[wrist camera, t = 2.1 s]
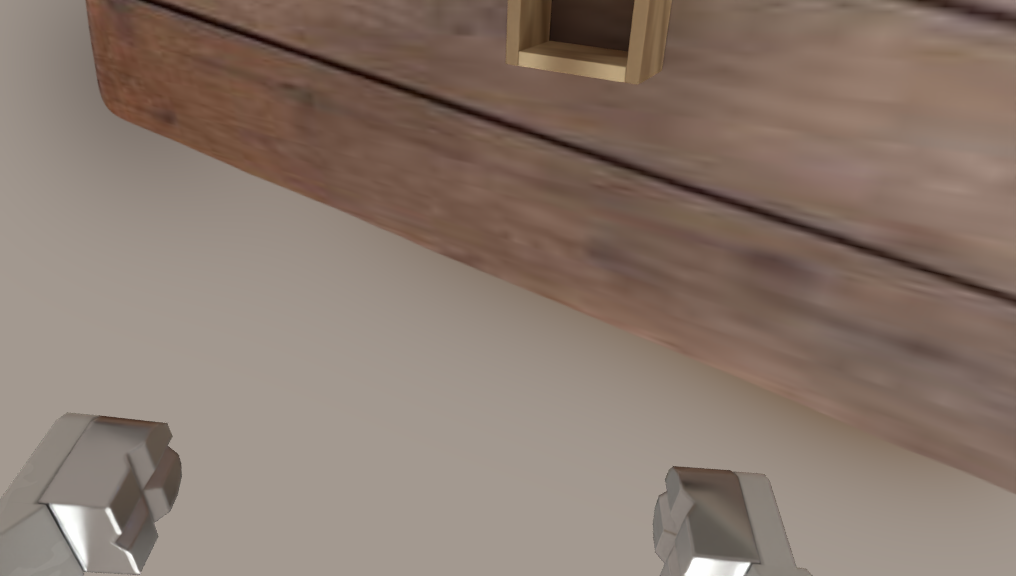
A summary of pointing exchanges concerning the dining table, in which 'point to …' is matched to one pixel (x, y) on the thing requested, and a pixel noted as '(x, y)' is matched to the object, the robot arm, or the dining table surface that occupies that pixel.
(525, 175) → the dining table surface
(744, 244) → the dining table surface
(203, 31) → the dining table surface
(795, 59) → the dining table surface
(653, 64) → the rack
